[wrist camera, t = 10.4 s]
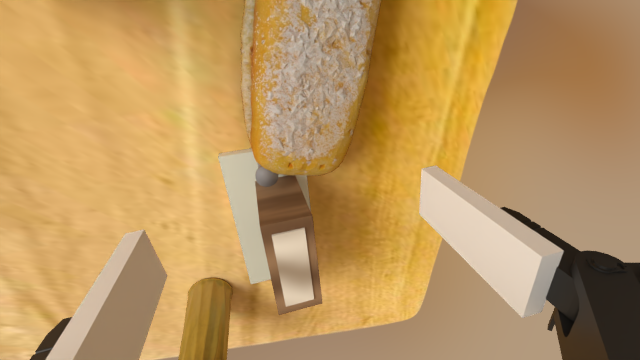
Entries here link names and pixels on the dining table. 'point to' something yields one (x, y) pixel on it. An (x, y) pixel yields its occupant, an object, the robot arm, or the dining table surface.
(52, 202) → the dining table surface
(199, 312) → the vase
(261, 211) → the brown block
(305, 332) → the dining table surface
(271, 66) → the bread
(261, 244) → the white board with pegs
